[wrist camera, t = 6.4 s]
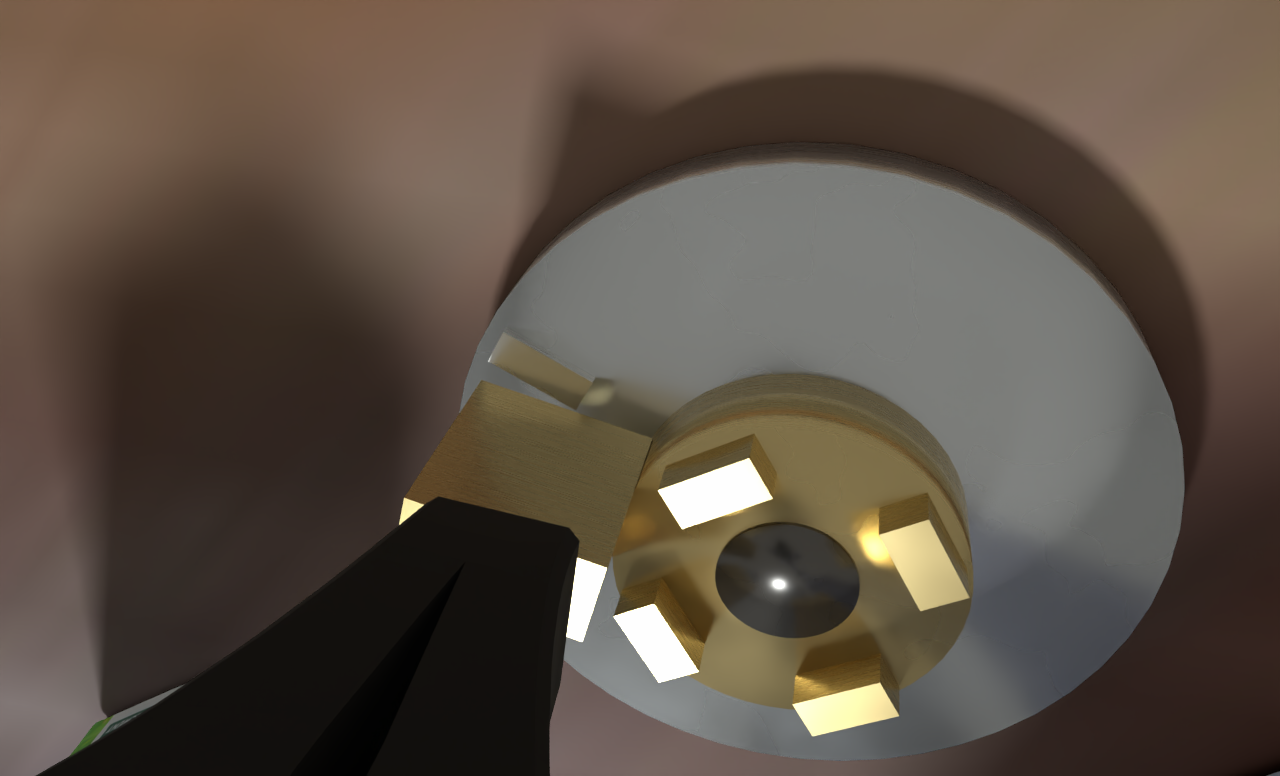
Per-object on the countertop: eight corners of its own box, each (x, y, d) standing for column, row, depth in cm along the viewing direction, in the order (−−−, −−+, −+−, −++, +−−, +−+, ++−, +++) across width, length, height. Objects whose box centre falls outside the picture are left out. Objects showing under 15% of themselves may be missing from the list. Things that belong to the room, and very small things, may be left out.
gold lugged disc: (790, 204, 17) (765, 311, 14) (1027, 581, 19) (1053, 746, 16) (435, 402, 20) (347, 526, 17) (680, 703, 23) (644, 861, 19)
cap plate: (1311, 551, 20) (1385, 693, 17) (752, 791, 26) (733, 926, 23) (877, -32, 16) (873, 18, 13) (351, 403, 22) (268, 503, 19)
